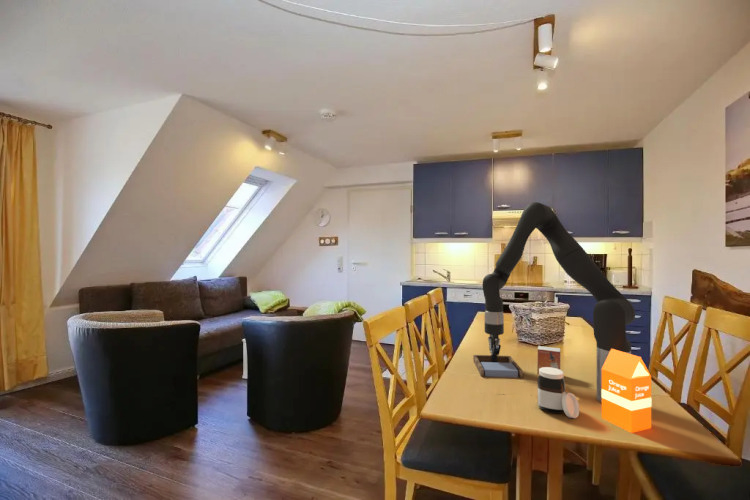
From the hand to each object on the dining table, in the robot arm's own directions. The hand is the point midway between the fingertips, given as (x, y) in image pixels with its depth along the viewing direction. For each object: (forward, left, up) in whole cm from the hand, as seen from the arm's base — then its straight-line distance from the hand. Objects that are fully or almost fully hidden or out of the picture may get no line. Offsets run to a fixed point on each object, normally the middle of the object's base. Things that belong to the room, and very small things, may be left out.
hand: (494, 363), depth 146 cm
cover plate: (-8, 0, -1) cm, 8 cm away
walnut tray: (-4, 0, -2) cm, 4 cm away
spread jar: (-37, -11, -2) cm, 39 cm away
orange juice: (-43, -27, -2) cm, 51 cm away
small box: (-7, -19, -2) cm, 20 cm away
